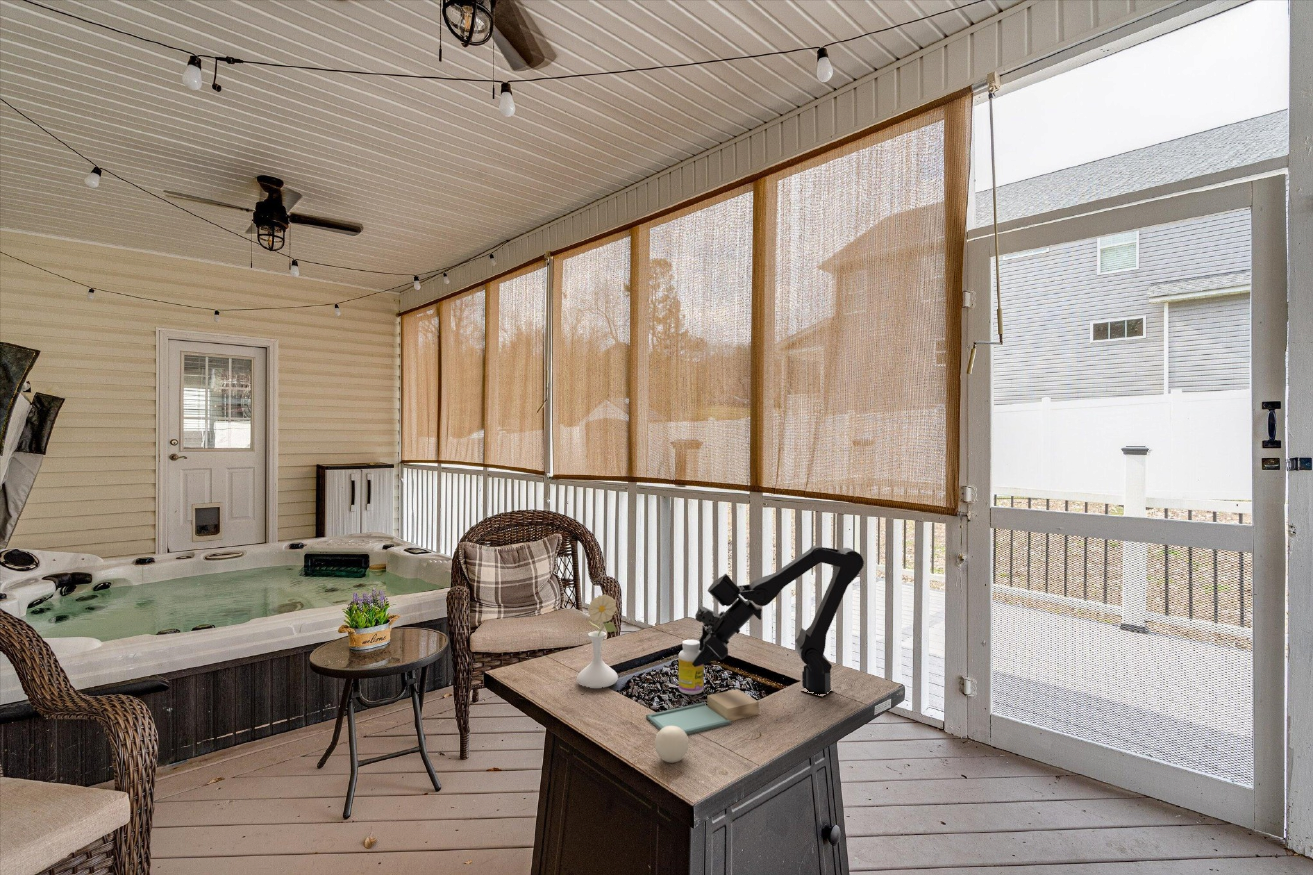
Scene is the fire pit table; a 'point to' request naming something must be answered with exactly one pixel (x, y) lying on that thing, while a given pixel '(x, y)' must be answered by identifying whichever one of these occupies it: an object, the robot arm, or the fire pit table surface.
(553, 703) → the fire pit table surface
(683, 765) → the fire pit table surface
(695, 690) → the supplement bottle
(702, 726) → the tray
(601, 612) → the flower in vase
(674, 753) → the cream white ball
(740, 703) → the block
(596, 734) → the fire pit table surface
